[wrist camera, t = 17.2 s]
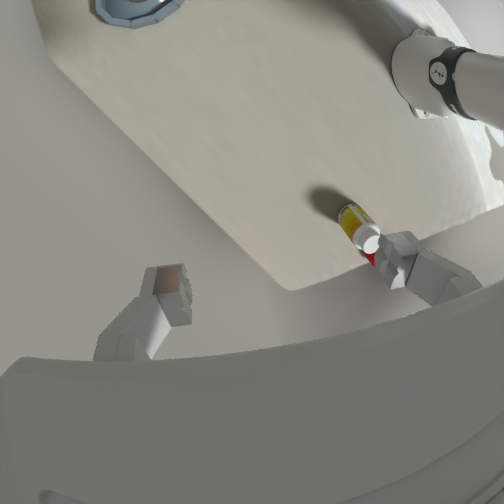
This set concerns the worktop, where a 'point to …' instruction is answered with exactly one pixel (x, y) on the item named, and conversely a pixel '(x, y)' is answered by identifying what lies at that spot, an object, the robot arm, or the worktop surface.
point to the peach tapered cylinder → (138, 1)
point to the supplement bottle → (359, 228)
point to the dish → (135, 12)
